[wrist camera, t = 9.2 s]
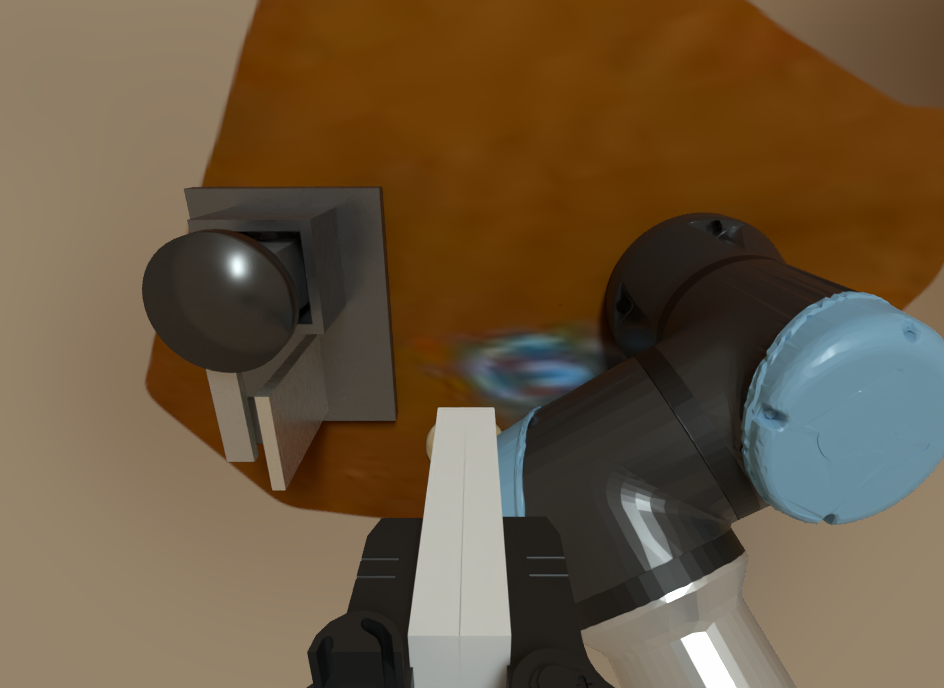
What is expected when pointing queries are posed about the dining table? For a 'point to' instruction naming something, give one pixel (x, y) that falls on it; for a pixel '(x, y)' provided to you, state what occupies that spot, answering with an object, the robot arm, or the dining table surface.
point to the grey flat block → (255, 420)
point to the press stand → (317, 311)
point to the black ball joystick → (226, 314)
